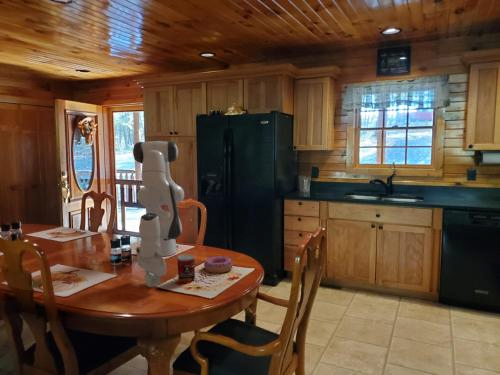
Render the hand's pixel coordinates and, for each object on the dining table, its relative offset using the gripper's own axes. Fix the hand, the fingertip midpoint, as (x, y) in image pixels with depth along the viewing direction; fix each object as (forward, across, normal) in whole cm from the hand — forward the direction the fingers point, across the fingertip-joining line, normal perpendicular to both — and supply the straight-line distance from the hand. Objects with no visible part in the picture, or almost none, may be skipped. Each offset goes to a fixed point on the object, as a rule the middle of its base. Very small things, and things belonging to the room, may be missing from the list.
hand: (152, 280), depth 167 cm
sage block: (+2, 0, 0) cm, 2 cm away
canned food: (+2, -6, -14) cm, 15 cm away
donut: (+2, -4, -34) cm, 34 cm away
